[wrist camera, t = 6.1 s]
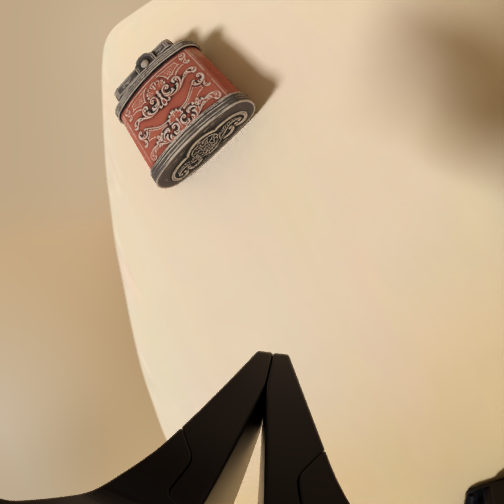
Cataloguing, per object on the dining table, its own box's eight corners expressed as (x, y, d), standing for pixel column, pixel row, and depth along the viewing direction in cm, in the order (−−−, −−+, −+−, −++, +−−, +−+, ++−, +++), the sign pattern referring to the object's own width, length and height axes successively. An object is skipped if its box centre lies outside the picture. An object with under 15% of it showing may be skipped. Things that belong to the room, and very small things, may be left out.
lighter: (262, 112, 19) (191, 38, 21) (241, 91, 16) (167, 18, 18) (176, 191, 22) (124, 106, 24) (145, 185, 19) (96, 94, 20)
